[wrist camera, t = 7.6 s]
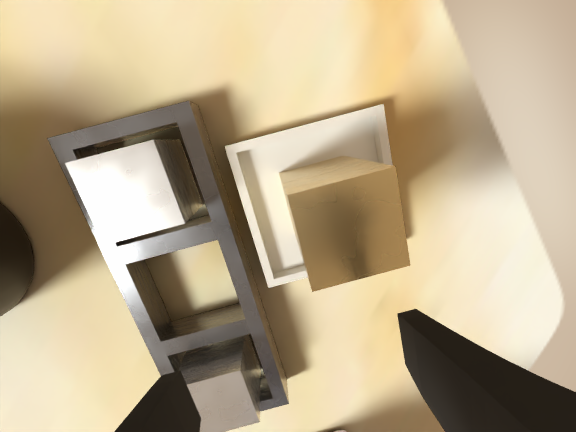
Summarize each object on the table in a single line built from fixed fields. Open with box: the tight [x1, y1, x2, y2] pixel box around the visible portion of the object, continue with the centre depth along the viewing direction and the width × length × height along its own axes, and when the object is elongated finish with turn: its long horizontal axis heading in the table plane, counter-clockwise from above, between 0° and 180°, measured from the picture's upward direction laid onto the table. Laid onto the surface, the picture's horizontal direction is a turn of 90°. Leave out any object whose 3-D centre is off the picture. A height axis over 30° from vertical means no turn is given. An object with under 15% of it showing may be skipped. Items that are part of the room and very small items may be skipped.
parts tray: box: [224, 104, 393, 288], centre depth 17 cm, size 9×9×1 cm
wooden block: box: [279, 156, 410, 292], centre depth 14 cm, size 4×4×7 cm
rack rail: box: [47, 101, 289, 432], centre depth 17 cm, size 20×7×4 cm, turn 14°
